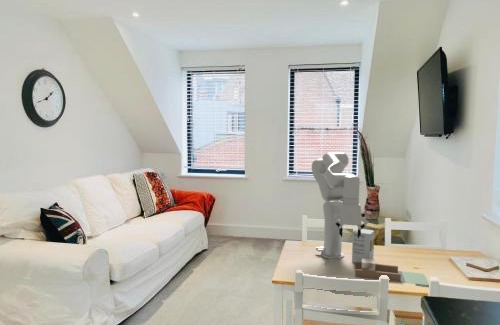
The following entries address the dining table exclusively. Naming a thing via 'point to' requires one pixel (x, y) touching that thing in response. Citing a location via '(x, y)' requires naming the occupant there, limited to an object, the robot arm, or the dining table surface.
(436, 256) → the dining table surface
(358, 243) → the supplement box
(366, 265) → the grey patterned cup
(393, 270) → the channel board
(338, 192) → the robot arm
